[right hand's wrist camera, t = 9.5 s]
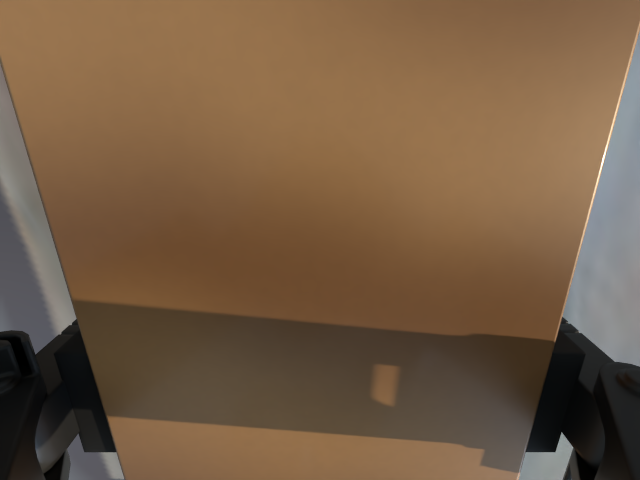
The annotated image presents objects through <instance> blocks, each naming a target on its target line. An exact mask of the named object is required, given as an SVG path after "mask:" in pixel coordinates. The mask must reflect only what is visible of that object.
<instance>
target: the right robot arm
mask: <svg viewBox="0 0 640 480" xmlns="http://www.w3.org/2000/svg"><path fill="white" fill-rule="evenodd" d="M561 432H562V433H563V434H564V435H565V437H566V438H567V439H568V441H569V442H570V443H571V445H572V446H573V447H574V448H573V451H572V454H571V457H570V460H569V463H568V466H567V469H566V471H565V474H564V477H563V480H640V367H639V366H636V365H632V364H627V363H621V362H614V361H613V360H612V359H611V358H610V357H608V356H607V355H606V354H605V353H604V352H603V351H602V350H600V349H599V348H598V347H597V346H596V345H595V344H593V343H592V342H591V341H590V340H589V339H588V338H586V337H585V336H584V335H583V334H582V333H579V331H578V330H577V329H576V328H575V327H574V326H572V325H571V324H568V321H567V320H565V319H564V318H563V317H562V319H561V323H560V327H559V330H558V334H557V338H556V341H555V345H554V349H553V352H552V356H551V360H550V364H549V367H548V371H547V375H546V378H545V382H544V386H543V390H542V393H541V397H540V401H539V404H538V408H537V412H536V415H535V419H534V423H533V427H532V430H531V434H530V438H529V441H528V445H527V449H526V452H555V451H556V448H557V445H558V442H559V439H560V435H561ZM78 433H79V436H80V439H81V443H82V446H83V449H84V452H116V449H115V445H114V442H113V439H112V435H111V432H110V429H109V425H108V422H107V419H106V415H105V412H104V408H103V405H102V402H101V398H100V395H99V392H98V388H97V385H96V382H95V378H94V375H93V372H92V368H91V365H90V362H89V358H88V355H87V351H86V348H85V345H84V341H83V338H82V335H81V331H80V328H79V325H78V321H77V319H76V320H75V321H74V322H73V323H72V325H69V326H68V327H67V328H66V329H65V330H63V331H62V333H61V335H58V336H57V337H55V338H54V339H53V340H52V341H51V342H50V343H48V344H47V345H46V346H45V347H44V348H43V349H42V350H40V351H39V352H38V353H37V354H36V355H35V352H34V349H33V346H32V343H31V340H30V337H29V335H28V334H26V333H25V332H23V331H12V330H11V331H4V332H0V480H68V478H69V471H70V457H69V454H68V451H67V448H68V447H69V445H70V444H71V442H72V441H73V440H74V438H75V437H76V436H77V434H78Z"/></svg>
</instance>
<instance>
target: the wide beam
mask: <svg viewBox="0 0 640 480" xmlns="http://www.w3.org/2000/svg"><path fill="white" fill-rule="evenodd" d="M639 30H640V0H0V63H1V67H2V70H3V73H4V77H5V80H6V83H7V87H8V90H9V93H10V97H11V100H12V103H13V107H14V110H15V114H16V117H17V120H18V124H19V127H20V130H21V134H22V137H23V140H24V144H25V147H26V150H27V154H28V157H29V160H30V164H31V167H32V171H33V174H34V177H35V181H36V184H37V187H38V191H39V194H40V197H41V201H42V204H43V207H44V211H45V214H46V217H47V221H48V224H49V227H50V231H51V234H52V238H53V241H54V244H55V248H56V251H57V254H58V258H59V261H60V264H61V268H62V271H63V274H64V278H65V281H66V284H67V288H68V291H69V295H70V298H71V301H72V305H73V308H74V311H75V315H76V318H77V321H78V325H79V328H80V331H81V335H82V338H83V341H84V345H85V348H86V351H87V355H88V358H89V362H90V365H91V368H92V372H93V375H94V378H95V382H96V385H97V388H98V392H99V395H100V398H101V402H102V405H103V408H104V412H105V415H106V419H107V422H108V425H109V429H110V432H111V435H112V439H113V442H114V445H115V449H116V452H117V455H118V459H119V462H120V465H121V469H122V472H123V475H124V479H125V480H518V478H519V475H520V471H521V467H522V464H523V460H524V456H525V452H526V449H527V445H528V441H529V438H530V434H531V430H532V427H533V423H534V419H535V415H536V412H537V408H538V404H539V401H540V397H541V393H542V390H543V386H544V382H545V378H546V375H547V371H548V367H549V364H550V360H551V356H552V352H553V349H554V345H555V341H556V338H557V334H558V330H559V327H560V323H561V319H562V315H563V312H564V308H565V304H566V301H567V297H568V293H569V290H570V286H571V282H572V278H573V275H574V271H575V267H576V264H577V260H578V256H579V253H580V249H581V245H582V241H583V238H584V234H585V230H586V227H587V223H588V219H589V215H590V212H591V208H592V204H593V201H594V197H595V193H596V190H597V186H598V182H599V178H600V175H601V171H602V167H603V164H604V160H605V156H606V153H607V149H608V145H609V141H610V138H611V134H612V130H613V127H614V123H615V119H616V116H617V112H618V108H619V104H620V101H621V97H622V93H623V90H624V86H625V82H626V79H627V75H628V71H629V67H630V64H631V60H632V56H633V53H634V49H635V45H636V41H637V38H638V34H639Z"/></svg>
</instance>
